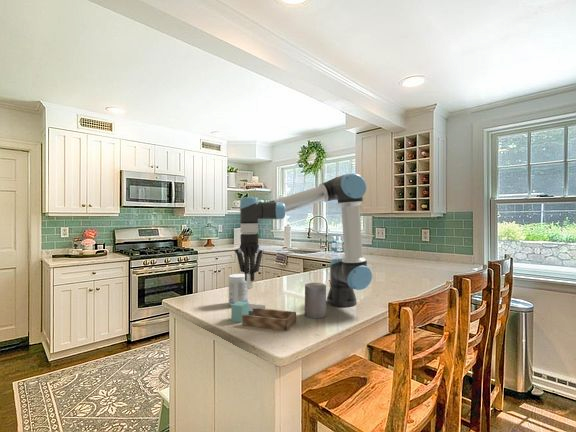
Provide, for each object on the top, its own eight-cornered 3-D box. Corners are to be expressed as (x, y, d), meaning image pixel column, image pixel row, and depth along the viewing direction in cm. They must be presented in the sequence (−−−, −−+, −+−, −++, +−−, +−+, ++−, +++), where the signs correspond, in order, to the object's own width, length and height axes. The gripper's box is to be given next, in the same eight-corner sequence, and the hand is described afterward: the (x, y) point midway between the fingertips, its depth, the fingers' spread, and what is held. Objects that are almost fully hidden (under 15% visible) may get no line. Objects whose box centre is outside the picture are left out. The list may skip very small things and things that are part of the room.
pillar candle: (304, 311, 147) (304, 279, 146) (325, 311, 146) (325, 279, 146) (305, 318, 137) (305, 284, 137) (327, 319, 137) (327, 284, 136)
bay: (296, 321, 133) (296, 311, 133) (287, 330, 122) (287, 320, 122) (253, 316, 139) (253, 307, 139) (242, 324, 129) (242, 315, 129)
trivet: (265, 310, 148) (265, 305, 148) (256, 317, 138) (256, 311, 138) (246, 308, 151) (246, 303, 151) (236, 314, 141) (236, 309, 141)
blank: (248, 318, 137) (248, 302, 137) (241, 322, 132) (241, 306, 132) (238, 317, 139) (238, 301, 139) (231, 321, 133) (231, 304, 133)
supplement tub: (248, 301, 163) (248, 273, 163) (247, 307, 154) (247, 277, 154) (230, 301, 163) (230, 273, 163) (227, 307, 153) (227, 277, 153)
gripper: (266, 233, 135) (267, 287, 135) (239, 232, 139) (240, 285, 140) (259, 234, 128) (260, 291, 128) (231, 233, 132) (231, 289, 132)
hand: (249, 288), depth 134 cm, fingers closed
